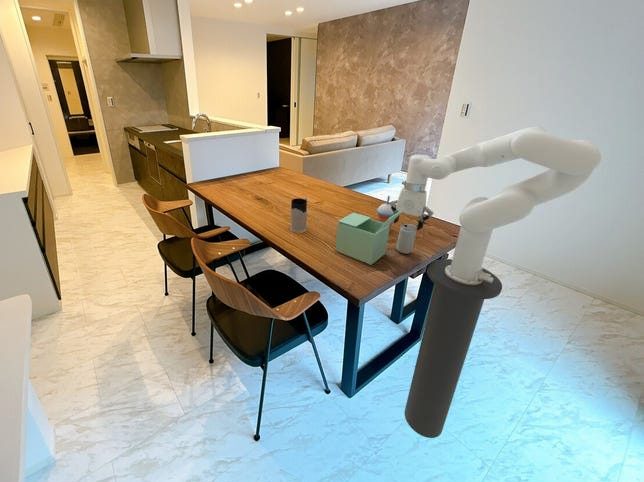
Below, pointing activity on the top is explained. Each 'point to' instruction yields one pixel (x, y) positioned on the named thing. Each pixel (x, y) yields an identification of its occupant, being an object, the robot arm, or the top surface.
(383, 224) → the flap
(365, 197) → the top surface
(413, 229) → the beverage can
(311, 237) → the top surface
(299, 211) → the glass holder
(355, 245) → the carton
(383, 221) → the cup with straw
